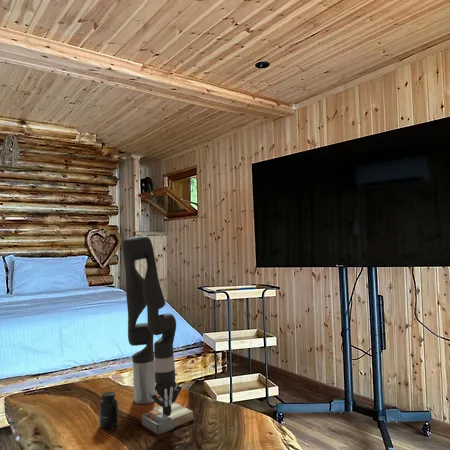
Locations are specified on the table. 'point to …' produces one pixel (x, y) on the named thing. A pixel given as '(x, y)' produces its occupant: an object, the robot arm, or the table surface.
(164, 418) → the blue gray block
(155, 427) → the tray
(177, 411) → the board
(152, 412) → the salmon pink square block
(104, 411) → the supplement bottle
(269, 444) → the table surface
